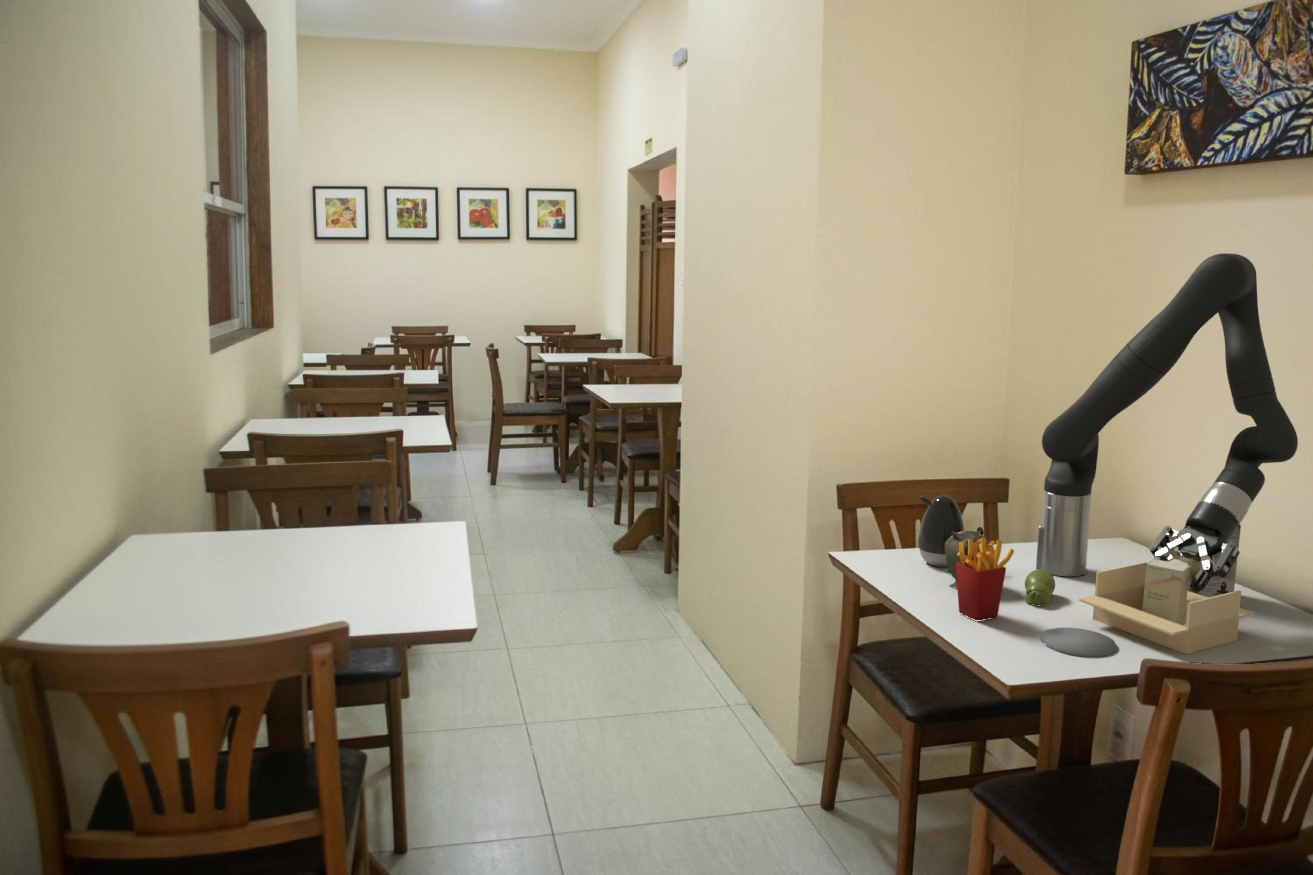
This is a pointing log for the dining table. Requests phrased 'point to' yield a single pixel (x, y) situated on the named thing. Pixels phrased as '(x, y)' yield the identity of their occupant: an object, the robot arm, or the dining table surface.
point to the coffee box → (1216, 583)
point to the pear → (1039, 587)
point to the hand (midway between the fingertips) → (1171, 583)
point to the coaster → (1078, 642)
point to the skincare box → (1166, 590)
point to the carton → (1203, 618)
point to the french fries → (980, 579)
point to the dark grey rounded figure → (938, 528)
